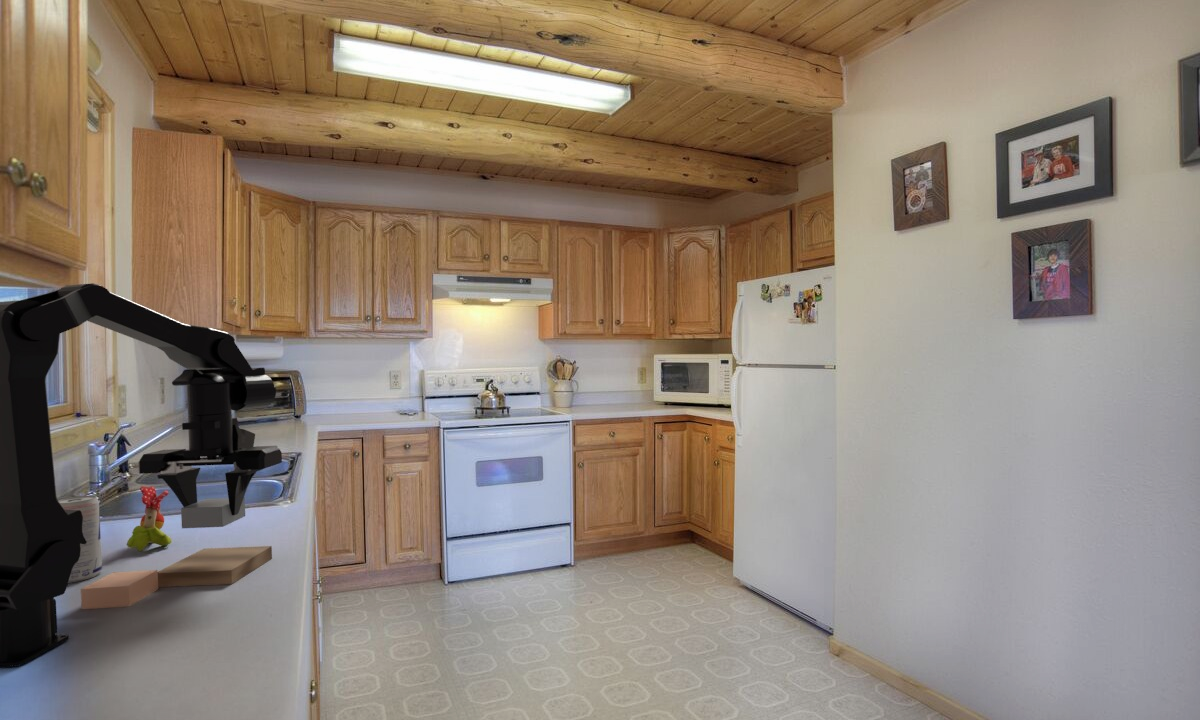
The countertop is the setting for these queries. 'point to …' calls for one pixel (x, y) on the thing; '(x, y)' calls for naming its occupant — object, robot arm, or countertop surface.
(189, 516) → the gray brick
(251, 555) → the walnut tower base
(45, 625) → the robot arm
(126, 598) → the terracotta brick
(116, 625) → the countertop surface
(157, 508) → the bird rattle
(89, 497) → the energy drink
